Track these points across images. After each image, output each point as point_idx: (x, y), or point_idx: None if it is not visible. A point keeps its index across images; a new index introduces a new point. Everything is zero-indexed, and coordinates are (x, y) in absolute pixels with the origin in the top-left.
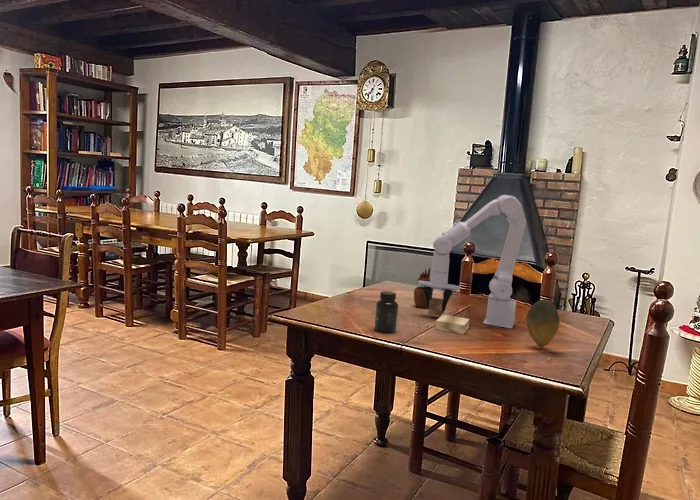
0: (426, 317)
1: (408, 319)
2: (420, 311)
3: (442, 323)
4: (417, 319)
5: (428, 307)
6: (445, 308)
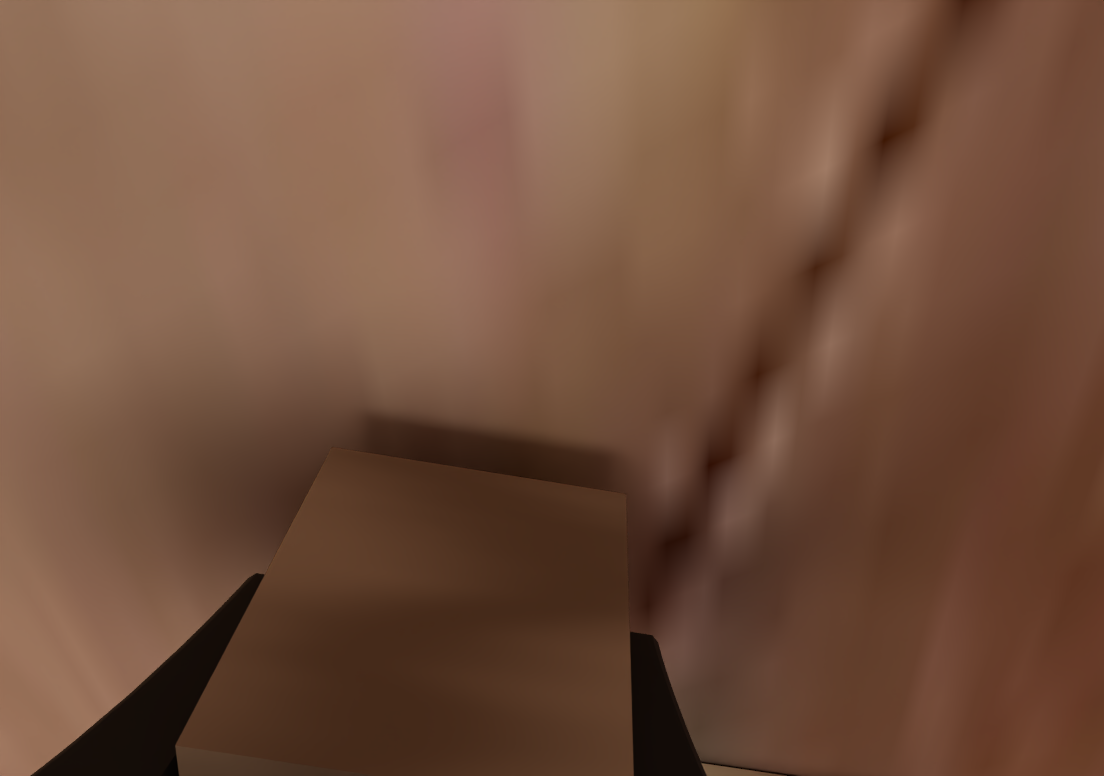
0: None
1: None
2: (39, 170)
3: None
4: None
5: None
6: (662, 683)
